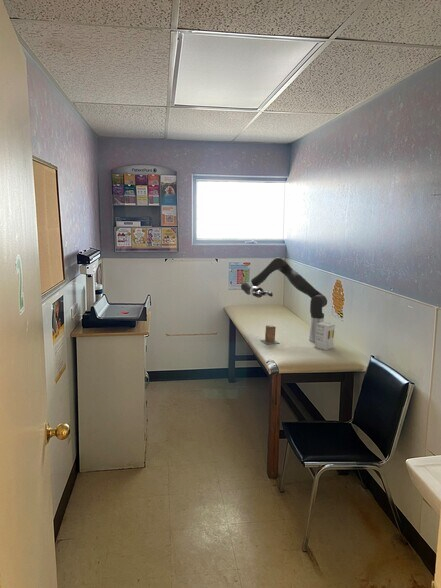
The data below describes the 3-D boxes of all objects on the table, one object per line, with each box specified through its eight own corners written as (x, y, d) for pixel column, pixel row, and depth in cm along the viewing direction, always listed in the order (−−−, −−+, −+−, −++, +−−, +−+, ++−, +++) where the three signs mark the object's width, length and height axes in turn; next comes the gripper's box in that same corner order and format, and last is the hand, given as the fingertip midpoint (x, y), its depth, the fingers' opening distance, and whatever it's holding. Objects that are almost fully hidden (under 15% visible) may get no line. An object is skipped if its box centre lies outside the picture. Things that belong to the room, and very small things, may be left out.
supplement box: (326, 350, 292) (328, 325, 289) (314, 347, 299) (316, 323, 296) (333, 347, 299) (335, 323, 296) (321, 344, 305) (323, 321, 303)
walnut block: (265, 340, 307) (265, 325, 306) (271, 340, 309) (272, 325, 307) (268, 342, 303) (269, 327, 301) (274, 342, 305) (275, 326, 303)
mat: (260, 340, 309) (260, 339, 309) (272, 339, 312) (272, 339, 312) (266, 344, 300) (266, 343, 300) (279, 343, 303) (279, 342, 303)
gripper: (248, 286, 321) (257, 290, 306) (265, 286, 326) (275, 289, 312) (247, 296, 322) (257, 300, 308) (264, 296, 328) (275, 300, 313)
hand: (266, 295), depth 310 cm, fingers open, 8 cm apart
